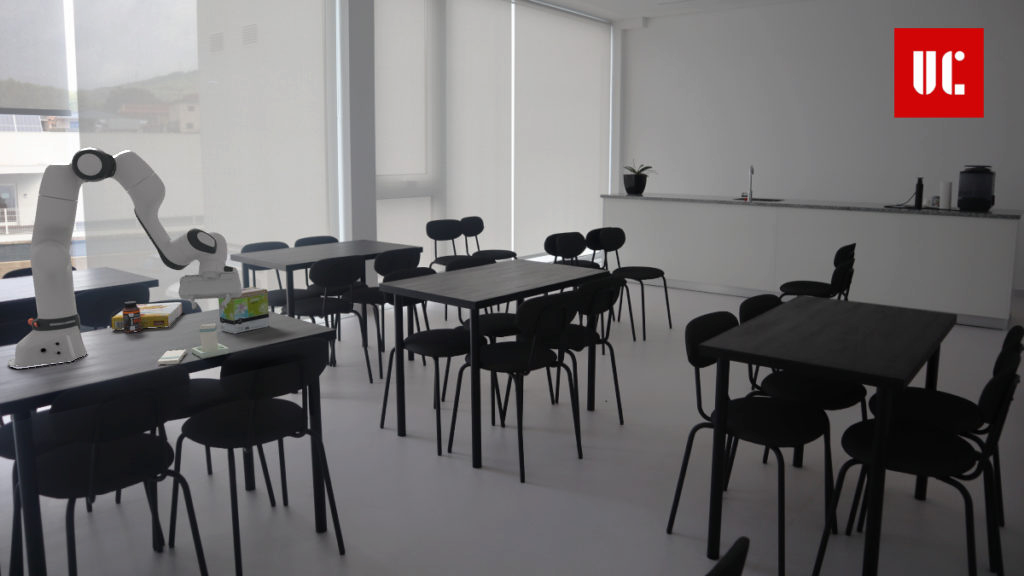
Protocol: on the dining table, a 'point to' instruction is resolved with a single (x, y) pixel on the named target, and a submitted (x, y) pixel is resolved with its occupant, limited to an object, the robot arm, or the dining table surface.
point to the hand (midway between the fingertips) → (209, 307)
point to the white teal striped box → (208, 337)
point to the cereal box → (152, 315)
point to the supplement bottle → (131, 317)
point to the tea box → (245, 311)
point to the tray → (219, 351)
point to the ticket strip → (172, 357)
